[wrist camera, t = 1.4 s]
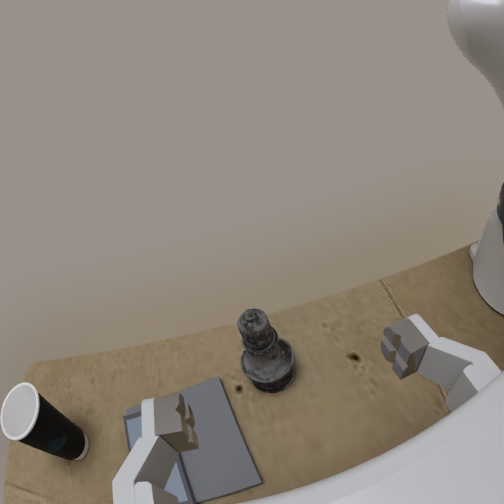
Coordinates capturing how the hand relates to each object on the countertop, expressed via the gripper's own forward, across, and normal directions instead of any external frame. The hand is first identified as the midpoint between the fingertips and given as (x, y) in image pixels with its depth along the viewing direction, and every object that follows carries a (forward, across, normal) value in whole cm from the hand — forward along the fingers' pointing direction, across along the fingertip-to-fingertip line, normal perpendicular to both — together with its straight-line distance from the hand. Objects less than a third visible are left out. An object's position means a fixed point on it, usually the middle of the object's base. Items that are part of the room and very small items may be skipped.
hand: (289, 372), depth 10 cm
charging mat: (+8, +11, +22) cm, 25 cm away
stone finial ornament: (+14, -1, +20) cm, 24 cm away
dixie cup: (+10, +28, +23) cm, 37 cm away
